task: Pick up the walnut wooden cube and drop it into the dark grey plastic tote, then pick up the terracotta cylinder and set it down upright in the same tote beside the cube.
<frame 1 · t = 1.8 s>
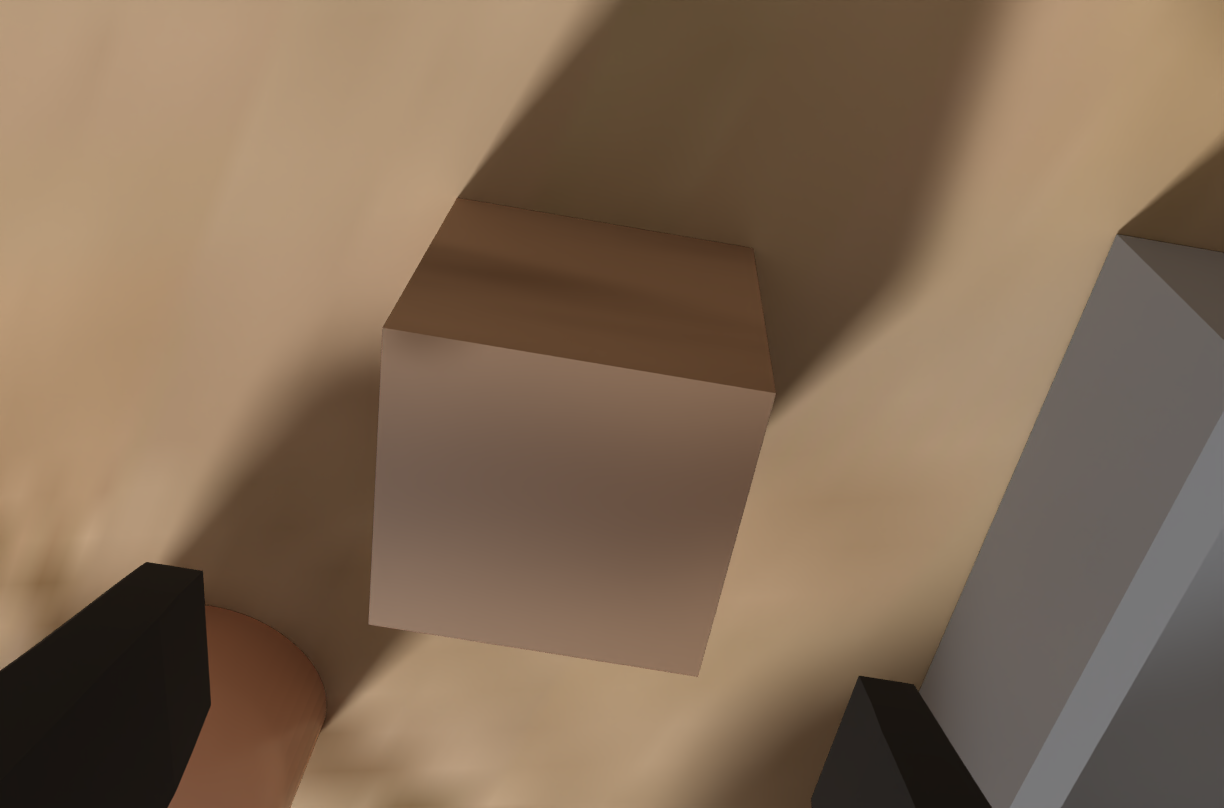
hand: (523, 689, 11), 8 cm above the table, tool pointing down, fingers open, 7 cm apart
terracotta cylinder: (217, 688, 23), on the table
walnut cube: (584, 352, 18), on the table
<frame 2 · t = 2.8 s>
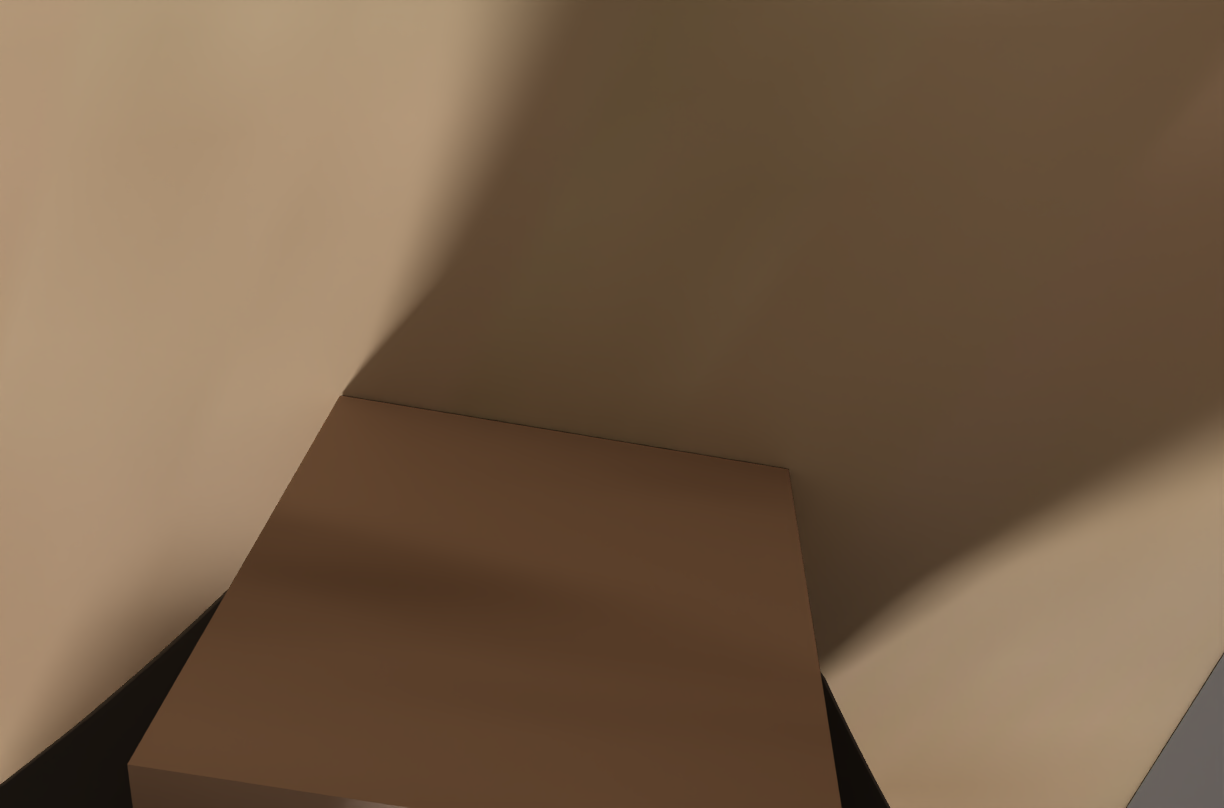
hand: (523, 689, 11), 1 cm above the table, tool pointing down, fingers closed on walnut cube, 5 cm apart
walnut cube: (538, 602, 13), on the table, touching gripper
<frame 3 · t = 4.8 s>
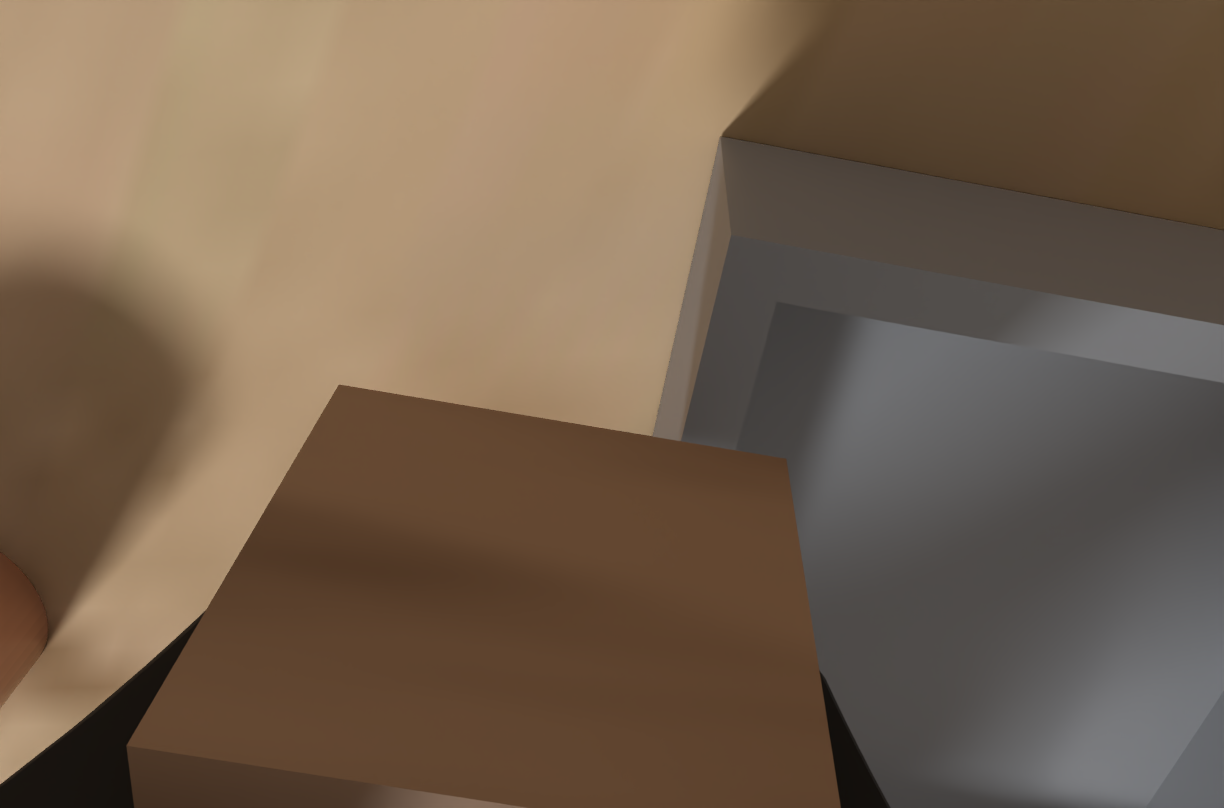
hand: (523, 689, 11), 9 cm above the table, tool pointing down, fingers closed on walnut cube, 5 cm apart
tote: (943, 601, 22), on the table
walnut cube: (537, 592, 13), point 7 cm above the table, touching gripper
when the fingers open (5 cm above the table, at t = 6.6 s): walnut cube drops 3 cm, resting on tote.
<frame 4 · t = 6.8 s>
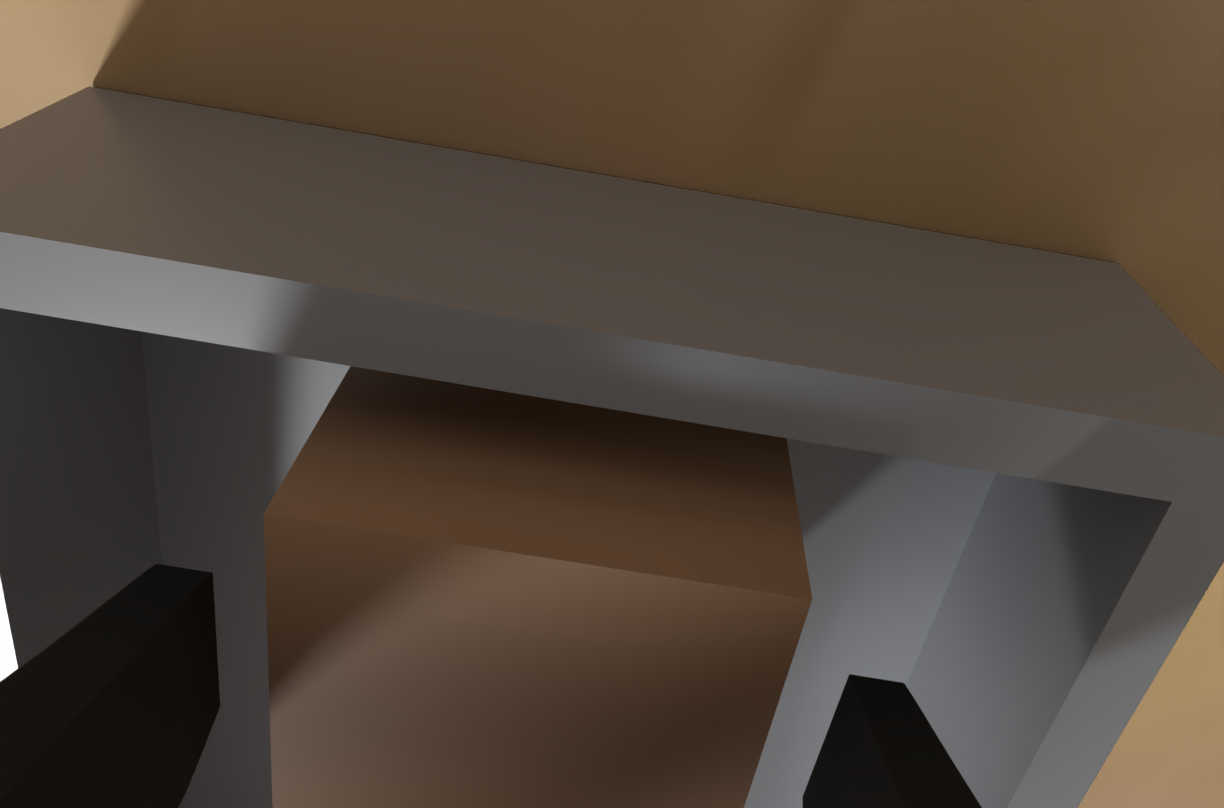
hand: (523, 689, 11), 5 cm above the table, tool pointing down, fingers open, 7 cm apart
tote: (532, 661, 18), on the table
walnut cube: (562, 471, 15), point 1 cm above the table, touching tote
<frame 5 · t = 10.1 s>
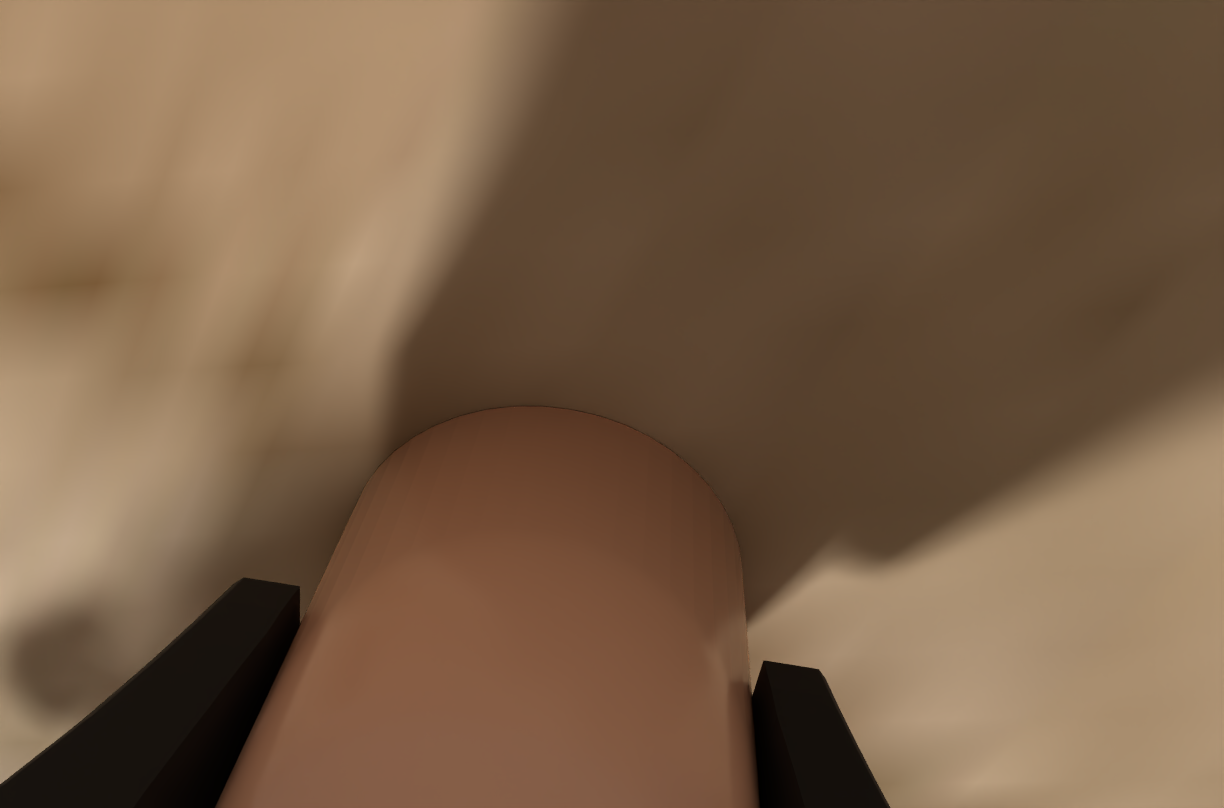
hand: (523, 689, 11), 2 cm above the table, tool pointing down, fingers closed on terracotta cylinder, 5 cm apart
terracotta cylinder: (543, 576, 13), on the table, touching gripper
when the fingers open (5 cm above the table, at t = 14.6 s): terracotta cylinder drops 2 cm, resting on tote.
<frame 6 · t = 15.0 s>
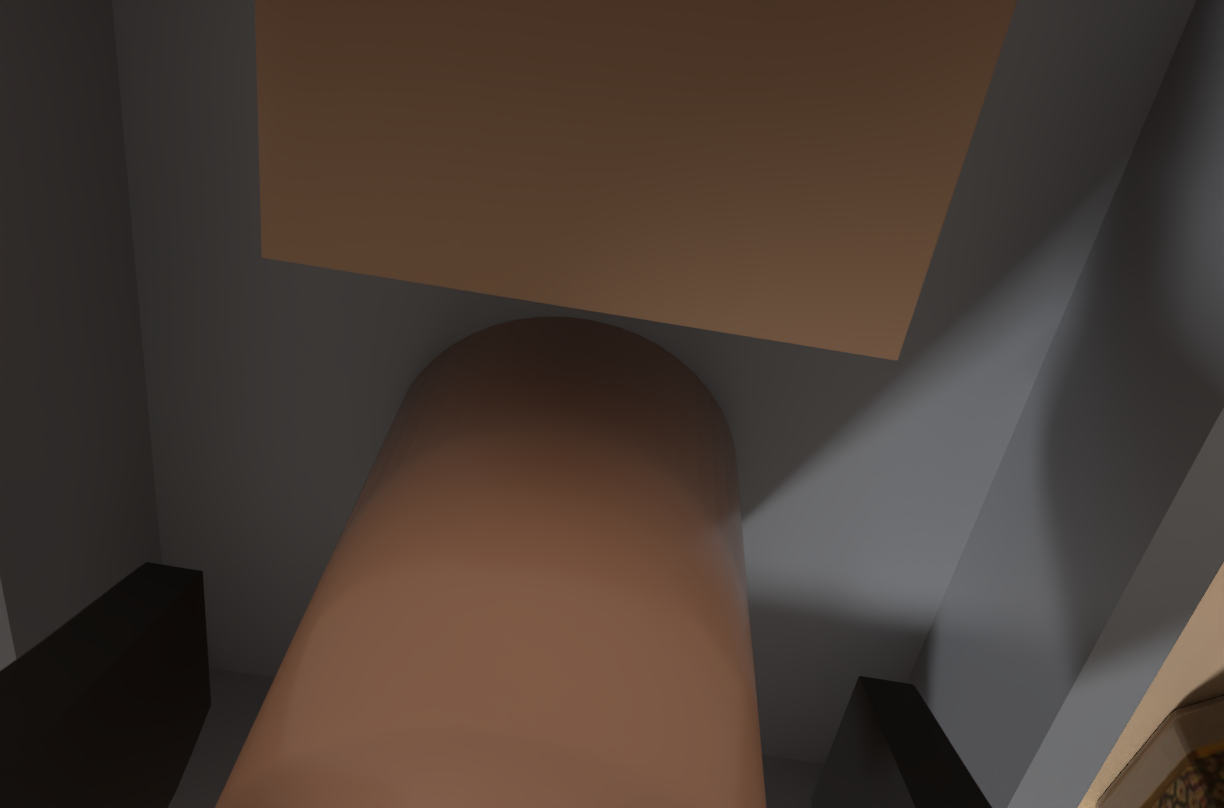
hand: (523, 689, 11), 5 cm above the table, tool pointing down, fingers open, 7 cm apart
terracotta cylinder: (562, 473, 15), point 1 cm above the table, touching tote
tote: (595, 267, 14), on the table
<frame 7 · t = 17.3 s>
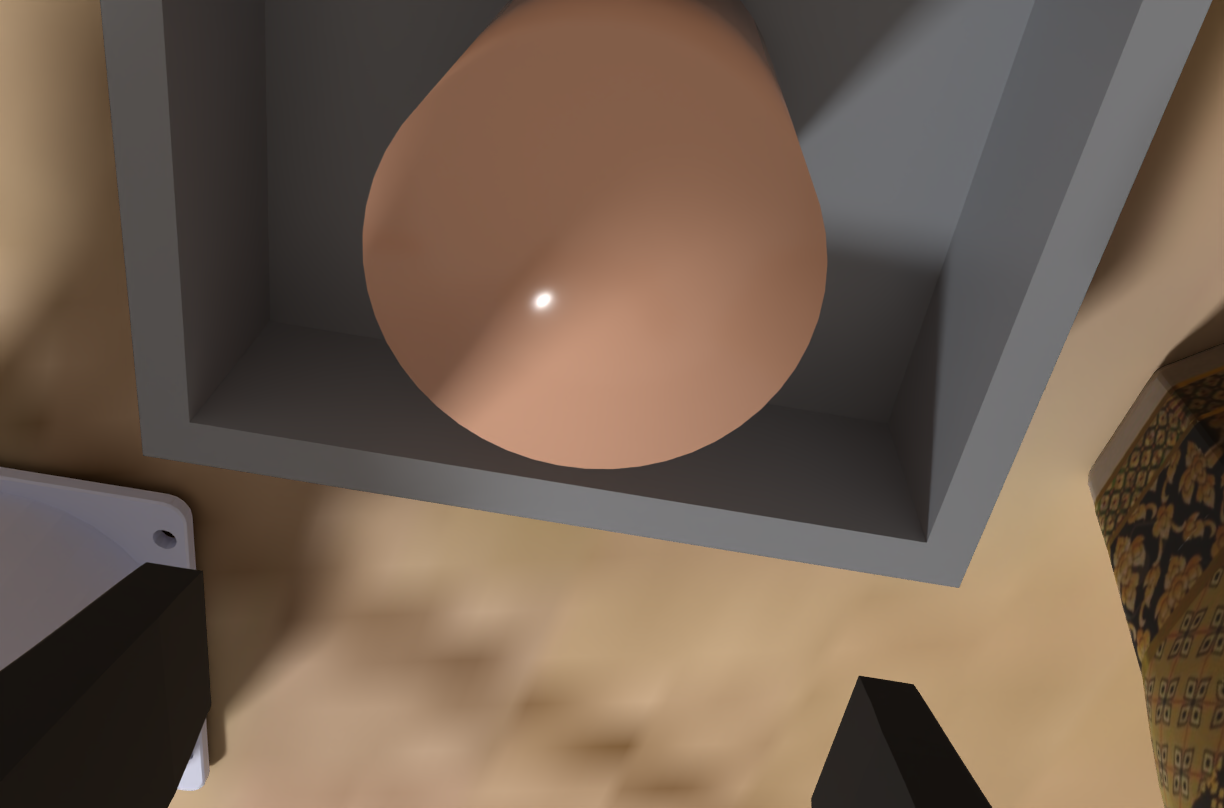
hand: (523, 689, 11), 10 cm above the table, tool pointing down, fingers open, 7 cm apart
terracotta cylinder: (624, 108, 17), point 1 cm above the table, touching tote
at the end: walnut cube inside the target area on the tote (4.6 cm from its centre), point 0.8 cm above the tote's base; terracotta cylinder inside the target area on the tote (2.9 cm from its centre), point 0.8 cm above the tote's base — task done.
